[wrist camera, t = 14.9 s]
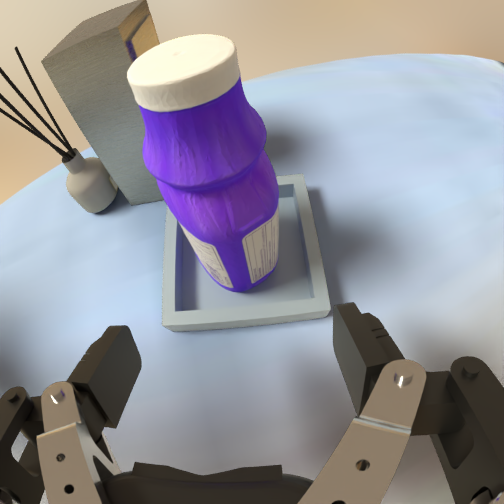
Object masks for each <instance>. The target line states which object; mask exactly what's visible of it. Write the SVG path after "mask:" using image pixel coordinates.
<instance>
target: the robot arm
mask: <svg viewBox="0 0 504 504" xmlns="http://www.w3.org/2000/svg"><path fill="white" fill-rule="evenodd" d="M333 347H334V352H335V355H336V358H337V361H338V363H339V366H340V369H341V371H342V374H343V377H344V380H345V382H346V385H347V388H348V391H349V393H350V396H351V399H352V402H353V405H354V407H355V410H356V413H357V416H358V417H357V416H356V417H355V418H354V419H353V421H352V422H351V424H350V426H349V427H348V429H347V431H346V433H345V434H344V436H343V438H342V439H341V441H340V443H339V444H338V446H337V447H336V449H335V451H334V452H333V454H332V455H331V457H330V459H329V460H328V462H327V463H326V465H325V466H324V468H323V469H322V471H321V472H320V473H319V475H318V476H317V478H316V479H315V481H312V480H310V479H307V478H304V477H300V476H295V475H290V474H283V473H282V466H281V465H273V466H261V467H243V468H238V469H234V470H230V471H225V472H221V473H216V474H210V475H204V476H203V475H197V474H193V473H189V472H186V471H182V470H179V469H176V468H173V467H169V466H164V465H155V464H146V463H139V462H135V463H134V467H133V470H132V471H129V472H123V473H122V472H121V470H120V469H119V467H118V464H117V462H116V460H115V458H114V455H113V453H112V451H111V448H110V446H109V443H108V441H107V438H106V436H105V434H104V433H103V432H102V431H103V429H104V427H109V428H116V427H117V425H118V422H119V420H120V418H121V415H122V413H123V410H124V408H125V405H126V403H127V401H128V398H129V396H130V393H131V391H132V389H133V386H134V384H135V382H136V379H137V377H138V375H139V373H140V370H141V357H140V354H139V351H138V349H137V346H136V344H135V341H134V339H133V336H132V334H131V331H130V329H129V327H128V326H126V325H121V326H109V327H108V328H107V329H106V331H105V332H104V334H103V335H102V337H101V338H99V339H98V340H97V341H95V342H94V343H93V344H92V345H91V346H90V347H89V349H88V350H87V351H86V354H84V356H83V357H82V359H81V361H80V362H79V363H78V365H77V366H76V367H75V369H74V370H73V372H72V373H71V375H70V376H69V378H68V379H67V381H66V382H63V381H62V382H56V383H54V384H52V385H50V386H49V387H47V388H46V389H45V391H44V392H43V394H42V396H38V397H30V396H29V395H28V393H27V392H26V390H25V389H24V388H23V387H14V388H11V389H9V390H8V391H7V392H6V393H5V394H4V395H3V396H2V398H1V399H0V504H40V501H41V498H42V495H43V493H44V490H46V495H47V499H48V503H49V504H380V503H381V501H382V499H383V497H384V495H385V493H386V491H387V489H388V487H389V485H390V482H391V480H392V478H393V476H394V474H395V471H396V469H397V467H398V465H399V462H400V460H401V457H402V455H403V452H404V450H405V447H406V445H407V442H408V439H409V436H415V435H430V437H431V439H432V442H433V444H434V447H435V449H436V452H437V454H438V457H439V459H440V462H441V464H442V467H443V470H444V472H445V475H446V478H447V481H448V483H449V486H450V489H451V492H452V495H453V498H454V501H455V504H504V388H503V386H502V385H501V383H500V382H499V381H498V379H497V378H496V377H495V375H494V374H493V373H492V371H491V370H490V369H489V367H488V366H487V365H486V364H485V363H484V362H483V361H482V360H480V359H478V358H475V357H469V356H467V357H461V358H458V359H457V360H455V361H454V362H453V364H452V366H451V368H450V371H441V372H425V370H424V368H423V367H422V366H421V365H420V364H418V363H416V362H414V361H411V360H405V358H404V356H403V355H402V353H401V352H400V350H399V349H398V347H397V346H396V344H395V343H394V341H393V340H392V338H391V337H390V336H389V334H388V332H387V331H386V329H384V326H383V325H382V323H381V322H380V320H379V319H378V318H376V317H375V316H373V315H372V314H370V313H364V314H361V312H360V311H359V309H358V308H357V306H356V304H355V303H354V302H351V303H345V304H339V305H334V308H333ZM20 431H21V432H22V434H23V435H24V436H25V437H26V438H27V439H28V440H29V441H28V443H27V445H26V447H25V449H24V452H23V454H22V456H21V458H20V460H19V462H17V461H16V460H15V459H14V457H13V456H12V453H11V447H12V445H13V443H14V441H15V439H16V437H17V435H18V433H19V432H20Z"/></svg>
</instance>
